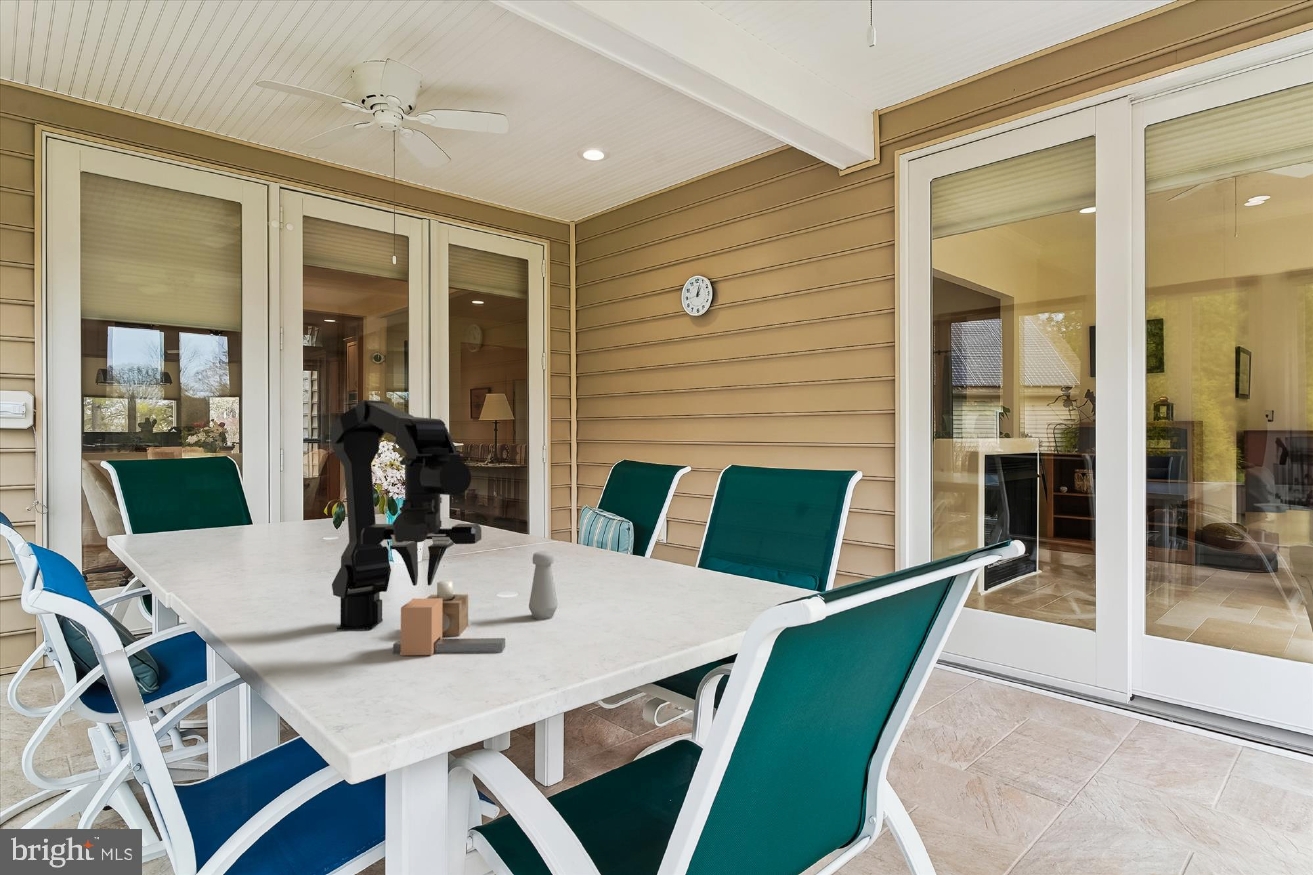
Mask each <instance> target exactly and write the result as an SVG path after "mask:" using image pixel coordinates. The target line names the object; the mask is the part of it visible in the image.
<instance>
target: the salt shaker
mask: <svg viewBox="0 0 1313 875" xmlns="http://www.w3.org/2000/svg"><path fill="white" fill-rule="evenodd" d="M554 561H555V556H554V553H552V551H546V550H545V551H537V552H534V553H533V554H532V564H533V565H535V567H534V570H533V571H534V572H533V577H532V578H533V579H532V583H531V584H532V585H531V590H530V597H529V603H528V609H529V611H530V613H531V615H532V617H533V619H534V618H536V620H547V618H549V619H552V618H553V617H554V615H555V613H556V611H557V609H558V606H559V605H558V598H557V591H556V586H555V581H554V575H553V570H552V564H553V563H554Z"/></svg>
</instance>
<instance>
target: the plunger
mask: <svg viewBox="0 0 1313 875" xmlns="http://www.w3.org/2000/svg"><path fill="white" fill-rule="evenodd" d="M453 594H454V582H453V581H452V580H443V581H442V580H441V581H438V582H436V595H437V598H442V600H447V599H452V598H453Z"/></svg>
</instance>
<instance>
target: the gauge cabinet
mask: <svg viewBox="0 0 1313 875" xmlns="http://www.w3.org/2000/svg"><path fill="white" fill-rule="evenodd" d="M427 598H437V594H430V595H428V596H427ZM468 627H469V594H468V593H467V594H466V593H465V594H463V593H462V594H459V593H458V594H454V593H453V598H452V599H447V600H442V637H459V636H461V634H462V633H463V632H464V631H465V630H466V629H467V628H468Z"/></svg>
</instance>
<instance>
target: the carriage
mask: <svg viewBox="0 0 1313 875" xmlns="http://www.w3.org/2000/svg"><path fill="white" fill-rule="evenodd" d="M400 639H401V653H400V656H432V655H433V654H435V653H434V642H435V641H436V640H437V639H443V636H442V598H428V597H425V598H422V597H421V598H412V599H411V600H409V601H408V602H406V603H405V604H404V605H402V606H401V607H400Z"/></svg>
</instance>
